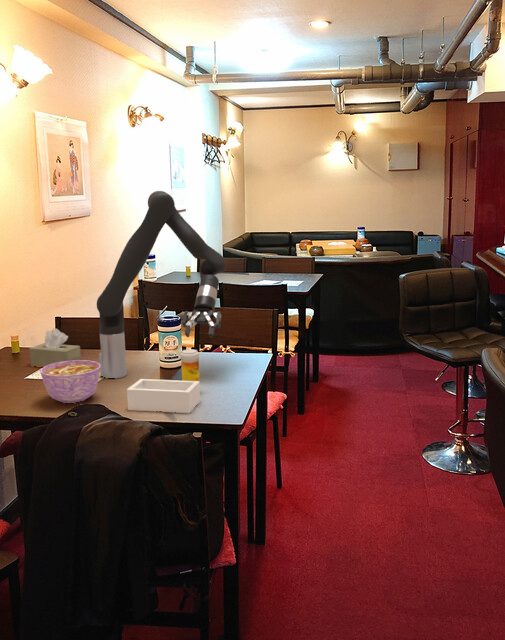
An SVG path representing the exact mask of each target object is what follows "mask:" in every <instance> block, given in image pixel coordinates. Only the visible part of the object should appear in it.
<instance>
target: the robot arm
mask: <svg viewBox="0 0 505 640" xmlns="http://www.w3.org/2000/svg"><path fill="white" fill-rule="evenodd" d="M147 207H148V209H147V212H146V214H145V216H144V218H143V220H142V222H141V224H140V226H138V227H137V229H136V230H135V232H133V234H132V235H131V237H130V238H129V239H128V241H127V242H126V245H125V246H124V248H123V249H122V251H121V254H120V256H119V259H118V261H117V263H116V265H115V268H114V271H113V273H112V276H111V278H110V279H109V281H108V283H107V285H106V287H105V288H104V289H103V291H102V292H101V294H100V295H99V296H98V297H97V300H96V308H97V309H96V310H97V311H98V313H99V325H98V326H99V328H98V329H99V331H98V333H99V342H100V352H99V353H98V359H99V360H98V361H99V362H98V363H99V364H100V365H101V367H100V373H99V377H100V376H103V377H102V378H104V377H105V378H104V379H108V378H115V379H120V378H124V377H126V376H127V375H128V373H127V372H128V371H127V359H126V357H127V355H126V354H127V353H126V341H125V340H126V339H125V312H124V311H125V310H124V309H125V308H124V299H125V298H126V297H125V296H126V294H127V293H128V290H129V288H130V287H131V285H132V283H133V282H134V281H135V279H136V278H137V277H138V275H139V273H140V272H141V270H142V269H143V267H144V266H145V264H146V262H147V260H148V258H149V256H150V254H151V252H152V250H153V248H154V245H155V243H156V241H157V238H158V236H159V234H160V233H161V231H162V229H163V228H164V226H165V224H166V225H167V226H168V228H169V229H170V230H171V231H172V232H173V233H174V234H175V236H176V237H177V239H178V240H179V241H180V243H181V244H182V245H183V246H184V247H185V249H186V250H187V251H188V252H189V253H190V254H191V256H192V257H193V258H195V259H197V260H199V259H204V260H202V262H201V263H200V265H199V276H200V283H199V287H198V290H197V294H196V298H195V302H194V306H193V307H194V308H193V310H192V311H191V312H189V311H188V310H185V311H184V314H183V316H182V320H181V326H182V327H183V328H184V329H185V330H184V335H185V336H186V338H190V334H191V331H192V330H191V328H193V327H194V326H196V325H198V324H199V325H206V324H208V326H209V330H208V338H209V339H211V338H212V337H214V334H215V329H220V328H221V324H222V316H223V315H222V314H221V311H217V312H215V309H216V303H217V298H218V297H217V296H218V290H219V284H220V283H219V281H220V280H219V278H218V276H216V275H218V274H220V273H222V272H224V271H225V270H226V268H227V262H226V259H225V257H224V256H223V255H222V254H221V253H220V252H218V251H217V250H215V249H214V248H212V247H211V246H209V245H208V244H207V243H206V241H205V240H204V239H203V238H202V236H200V234H199V233H198V232H197V231H196V230H195V229H194V228H193V227H192V226H191V225H190V224H189V222H187V221H186V220H185V218H184V217H183V216H182V215H181V213H180V212H179V211H178V209H177V208H176V205H175V200H174V197H172V196H171V194H169V193H167V192H166V191H163V190H155V191H154V192H152V193H150V195H149V196H148V198H147ZM214 317H215V323H214V322H213V321H212V320H213V319H214Z"/></svg>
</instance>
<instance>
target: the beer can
mask: <svg viewBox="0 0 505 640" xmlns="http://www.w3.org/2000/svg"><path fill="white" fill-rule="evenodd" d="M180 356H181V357H180V360H181V361H180V362H181V365H180V366H181V381H200V357H199V352H198V350H197V349H191V348H190V349H183V350H182V351H181V355H180Z"/></svg>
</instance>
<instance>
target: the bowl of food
mask: <svg viewBox="0 0 505 640" xmlns="http://www.w3.org/2000/svg"><path fill="white" fill-rule="evenodd" d="M100 367H101V365H100V362H98V361H94V360H86V359H83V360H82V359H81V360H72V361H63V362H58V363H53V364H50V365H47V366H45V367H43V368H40V370H39V373H40V376H41V378H42V382H43V384H44V386H45V387H44V388H45V389H46V392H47V394H48V395H49V397H50V398H51V399H53V400H55V401H58V402H61V403H62V402H63V403H62V404H65V403H74V404H76V403H75V402H79V403H81V402H80V401H82V402H84V401H85V400H86V399H89V398H90V397H91V396H92V395H94V394H95V392H96V391H97V386H98V384H99V379H100Z"/></svg>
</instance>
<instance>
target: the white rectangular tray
mask: <svg viewBox="0 0 505 640" xmlns="http://www.w3.org/2000/svg"><path fill="white" fill-rule="evenodd" d="M126 396H127V410H128V411H141V412H156V411H158V412H159V411H162V412H161V413H175V412H176V413H177V414H191V413H190V412H193V410H194V409H195V408H196V407H197V406H198V405H199V404H198V403H201V383H200V381H182V380H176V379H174V380H173V379H172V380H171V379H154V378H153V379H148V378H140V379H139V380H137V381H136V382H134V384H132V385H130V386H129V387H128V388H126ZM197 404H198V405H197ZM196 405H197V406H196ZM195 406H196V407H195ZM194 407H195V408H194ZM159 413H160V412H159Z"/></svg>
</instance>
